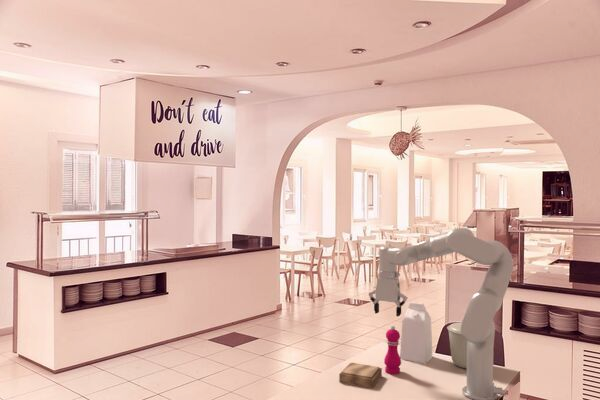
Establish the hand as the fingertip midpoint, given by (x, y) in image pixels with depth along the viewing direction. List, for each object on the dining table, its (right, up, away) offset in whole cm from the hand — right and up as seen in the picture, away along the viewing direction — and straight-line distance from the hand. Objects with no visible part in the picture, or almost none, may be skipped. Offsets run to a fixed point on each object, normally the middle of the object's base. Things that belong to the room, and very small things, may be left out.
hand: (387, 314), depth 202 cm
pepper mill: (+2, -26, +1) cm, 26 cm away
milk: (+17, -26, +19) cm, 36 cm away
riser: (-13, -25, -8) cm, 29 cm away
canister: (+38, -26, +10) cm, 47 cm away
